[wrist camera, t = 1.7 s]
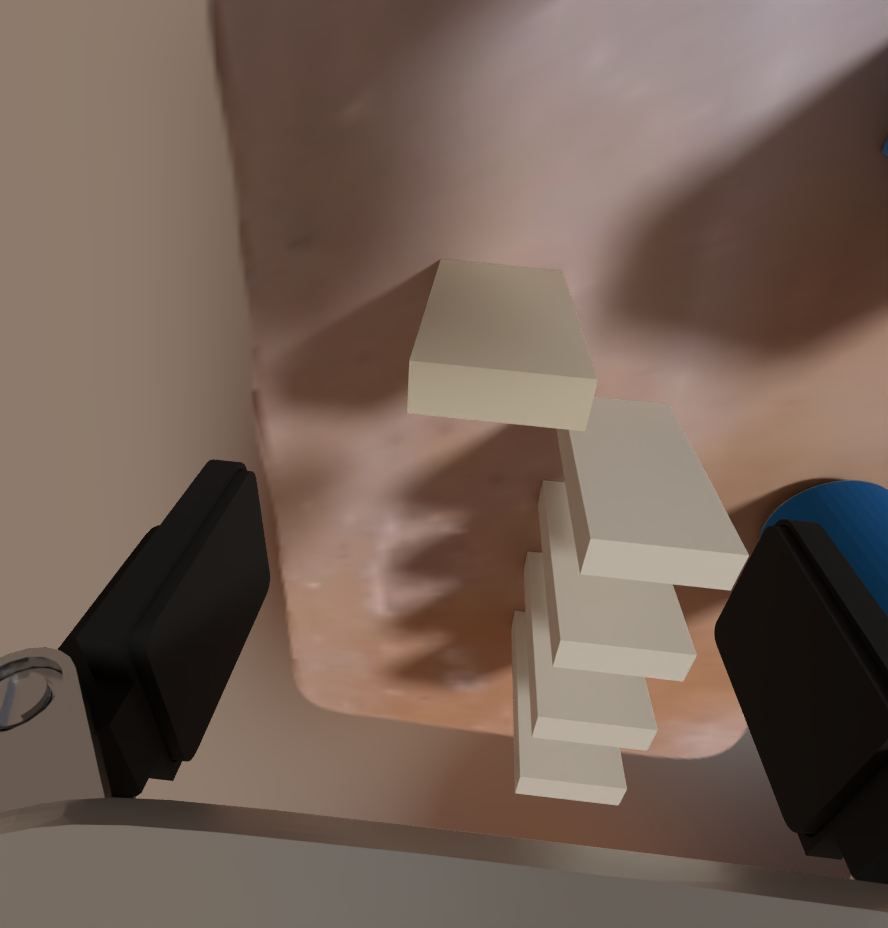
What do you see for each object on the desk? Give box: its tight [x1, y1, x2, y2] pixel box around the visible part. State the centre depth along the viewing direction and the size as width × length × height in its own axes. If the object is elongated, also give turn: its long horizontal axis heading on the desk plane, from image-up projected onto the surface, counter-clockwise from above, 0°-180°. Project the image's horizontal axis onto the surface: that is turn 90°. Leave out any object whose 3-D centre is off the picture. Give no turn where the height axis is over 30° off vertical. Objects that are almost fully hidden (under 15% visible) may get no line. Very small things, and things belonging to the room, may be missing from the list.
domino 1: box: [407, 259, 598, 431], centre depth 20 cm, size 2×5×10 cm, turn 86°
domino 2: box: [556, 397, 749, 591], centre depth 22 cm, size 2×5×10 cm, turn 86°
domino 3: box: [538, 480, 697, 681], centre depth 25 cm, size 2×5×10 cm, turn 86°
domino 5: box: [511, 611, 627, 805], centre depth 31 cm, size 2×5×10 cm, turn 86°
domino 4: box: [523, 551, 658, 751], centre depth 28 cm, size 2×5×10 cm, turn 86°
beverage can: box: [760, 480, 888, 617], centre depth 24 cm, size 6×6×12 cm
